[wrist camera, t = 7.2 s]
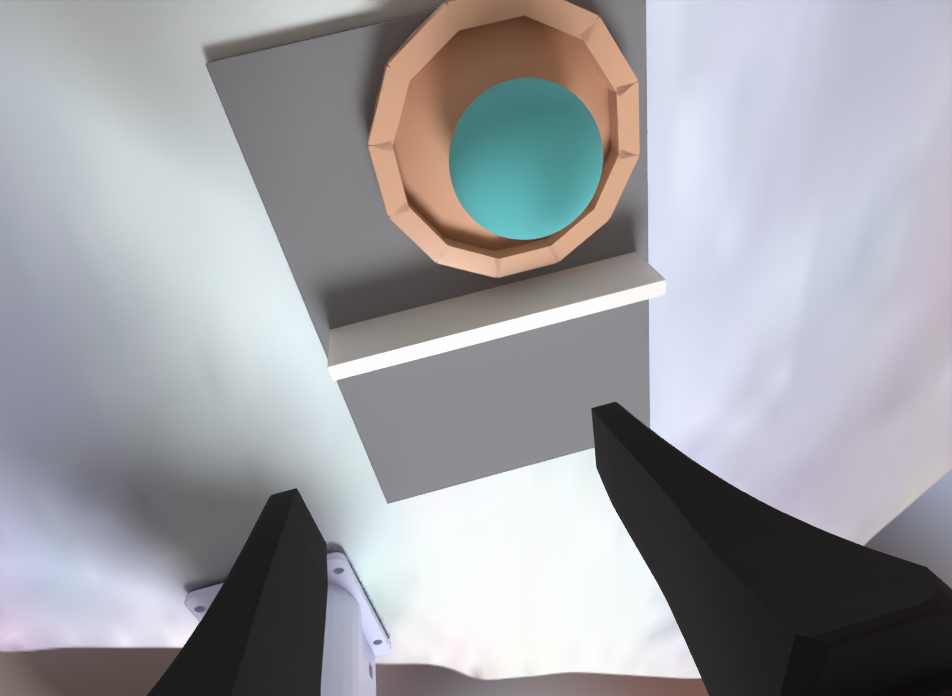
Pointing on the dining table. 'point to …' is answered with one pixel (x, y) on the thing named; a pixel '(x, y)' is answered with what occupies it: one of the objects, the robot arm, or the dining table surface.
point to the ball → (525, 158)
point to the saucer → (459, 83)
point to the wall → (491, 314)
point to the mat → (429, 269)
